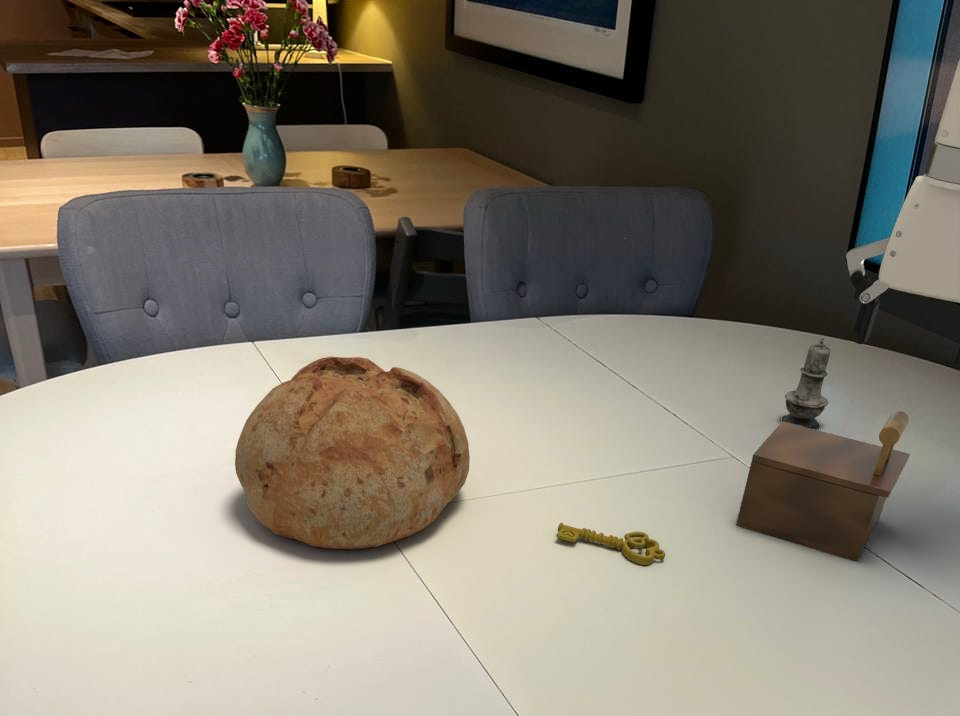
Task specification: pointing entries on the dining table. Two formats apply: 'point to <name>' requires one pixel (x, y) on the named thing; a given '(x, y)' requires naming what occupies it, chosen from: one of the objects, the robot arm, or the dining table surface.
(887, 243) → the robot arm
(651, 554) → the key
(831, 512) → the box
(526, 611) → the dining table surface
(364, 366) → the bread
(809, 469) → the lid
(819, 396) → the salt shaker
